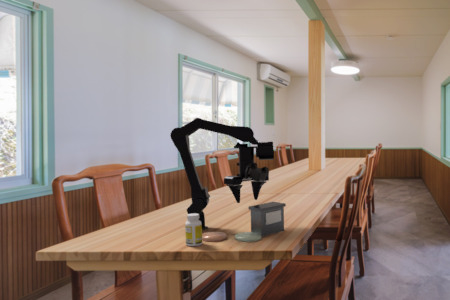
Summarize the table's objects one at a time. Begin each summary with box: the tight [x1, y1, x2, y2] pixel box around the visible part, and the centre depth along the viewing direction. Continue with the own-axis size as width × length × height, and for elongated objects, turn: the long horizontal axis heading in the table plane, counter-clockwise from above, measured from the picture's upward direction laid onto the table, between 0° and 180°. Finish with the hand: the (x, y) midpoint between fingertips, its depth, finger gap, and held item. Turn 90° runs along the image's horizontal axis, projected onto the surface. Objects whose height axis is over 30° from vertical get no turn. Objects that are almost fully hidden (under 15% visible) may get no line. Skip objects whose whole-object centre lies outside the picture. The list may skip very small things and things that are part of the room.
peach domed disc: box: [202, 231, 227, 243], centre depth 129 cm, size 9×9×1 cm
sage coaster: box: [234, 231, 262, 243], centre depth 127 cm, size 9×9×1 cm
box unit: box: [248, 201, 287, 238], centre depth 134 cm, size 6×13×10 cm, turn 131°
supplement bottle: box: [184, 213, 203, 247], centre depth 122 cm, size 5×5×10 cm
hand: (247, 201), depth 141 cm, fingers open, 9 cm apart
